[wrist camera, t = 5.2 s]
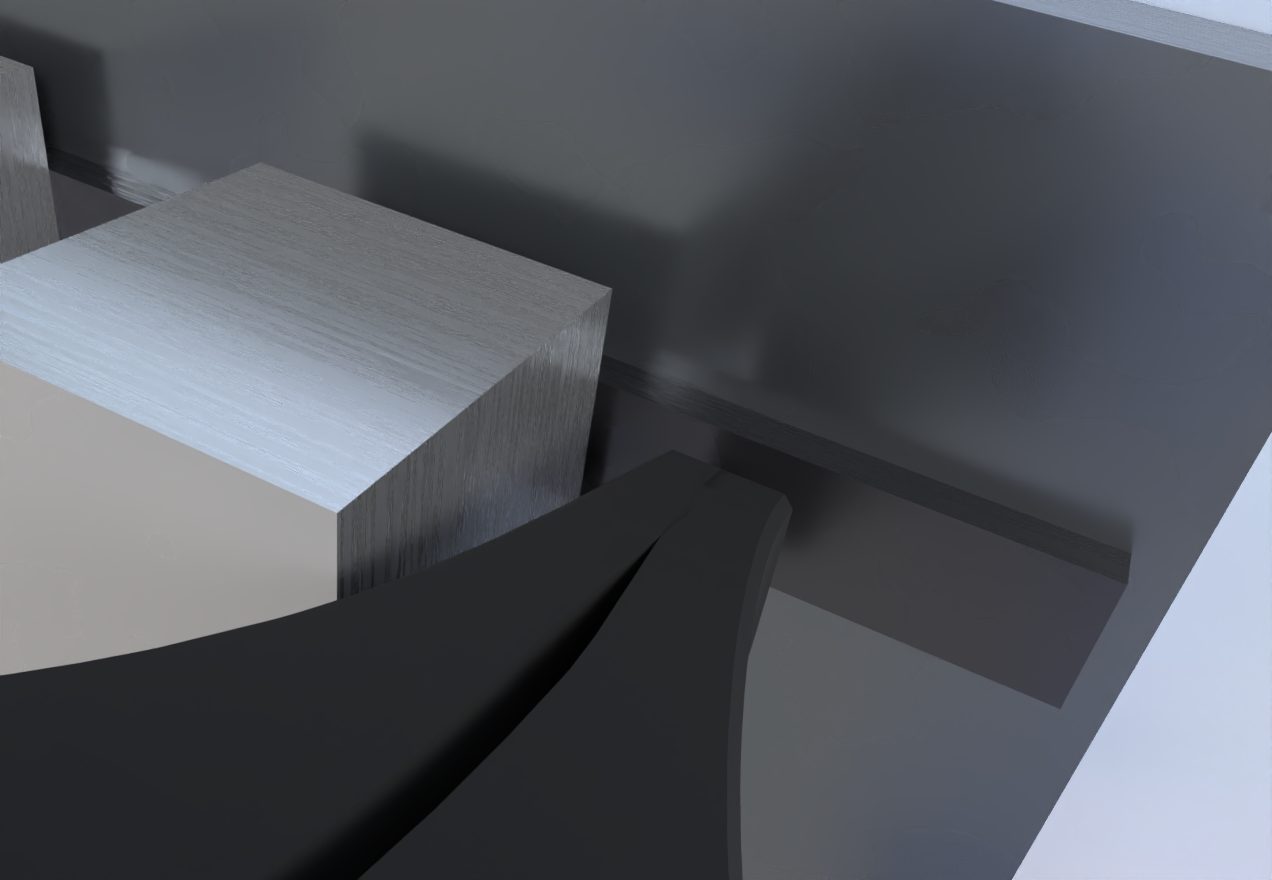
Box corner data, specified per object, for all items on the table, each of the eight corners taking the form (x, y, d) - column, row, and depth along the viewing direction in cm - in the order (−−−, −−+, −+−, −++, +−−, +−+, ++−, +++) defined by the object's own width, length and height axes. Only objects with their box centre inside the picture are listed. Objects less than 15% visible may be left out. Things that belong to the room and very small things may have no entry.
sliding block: (555, 729, 14) (335, 1038, 11) (299, 605, 15) (25, 849, 12) (633, 271, 11) (337, 512, 7) (289, 151, 12) (-114, 308, 8)
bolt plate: (908, 1007, 17) (780, 1489, 12) (12, 548, 22) (-328, 761, 17) (1423, 72, 9) (1645, 404, 4) (-173, -319, 14) (-911, -373, 9)
